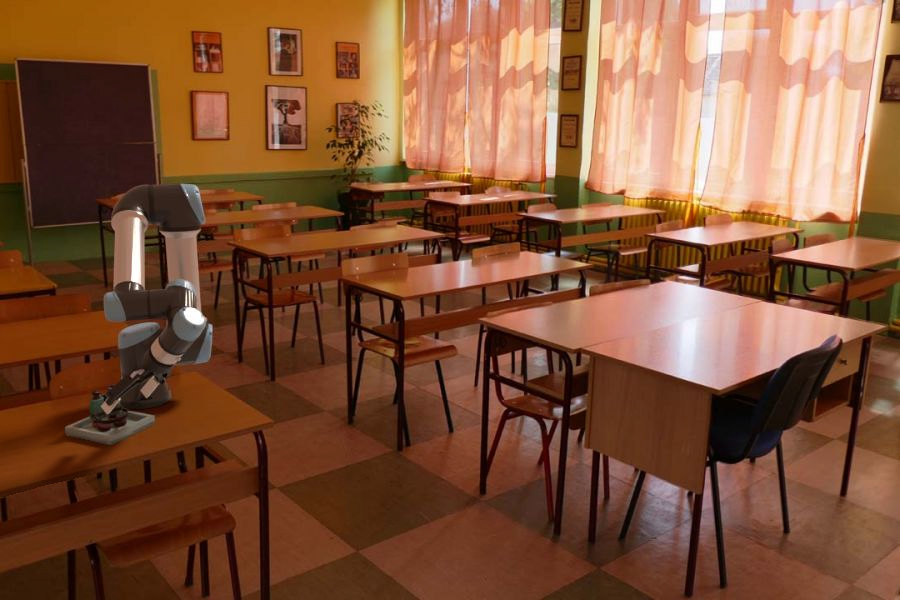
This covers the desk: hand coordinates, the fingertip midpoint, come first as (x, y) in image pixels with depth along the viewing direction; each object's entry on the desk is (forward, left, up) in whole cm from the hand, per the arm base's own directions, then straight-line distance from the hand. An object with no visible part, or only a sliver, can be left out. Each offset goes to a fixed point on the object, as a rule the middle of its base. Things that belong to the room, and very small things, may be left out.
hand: (125, 401), depth 210 cm
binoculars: (-1, -6, -9) cm, 11 cm away
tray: (-1, -7, -9) cm, 11 cm away
